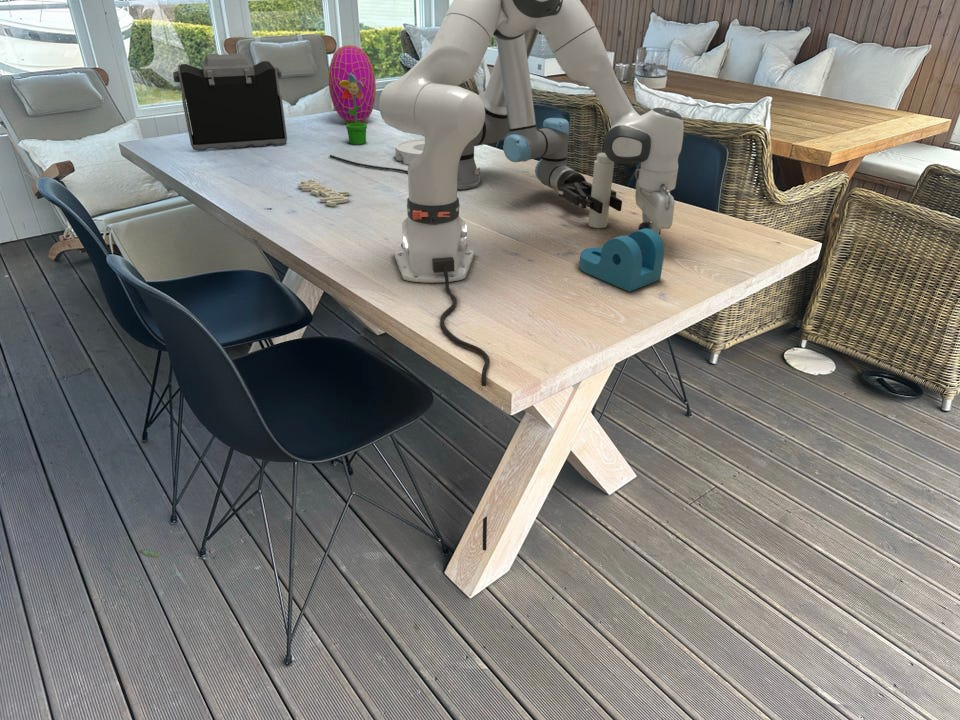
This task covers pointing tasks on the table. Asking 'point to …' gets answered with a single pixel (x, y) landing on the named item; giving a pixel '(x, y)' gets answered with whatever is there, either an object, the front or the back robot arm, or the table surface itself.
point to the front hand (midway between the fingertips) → (649, 233)
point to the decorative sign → (324, 192)
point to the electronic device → (232, 102)
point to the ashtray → (409, 150)
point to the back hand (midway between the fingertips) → (610, 207)
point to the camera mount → (626, 260)
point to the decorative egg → (361, 68)
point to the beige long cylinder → (601, 189)
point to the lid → (646, 226)
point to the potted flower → (354, 129)
